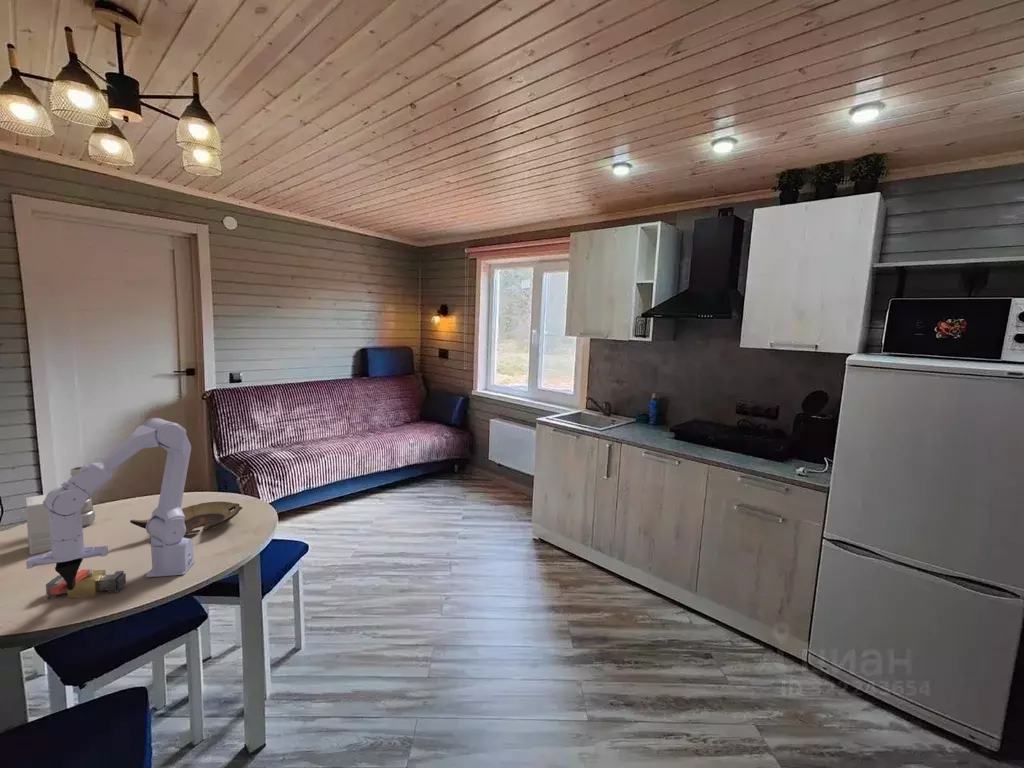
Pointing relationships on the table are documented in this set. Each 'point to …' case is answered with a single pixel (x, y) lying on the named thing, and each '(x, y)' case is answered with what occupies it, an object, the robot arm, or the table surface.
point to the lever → (63, 585)
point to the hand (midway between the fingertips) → (71, 588)
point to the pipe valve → (91, 584)
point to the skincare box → (38, 525)
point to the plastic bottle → (87, 509)
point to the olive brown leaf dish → (203, 515)
